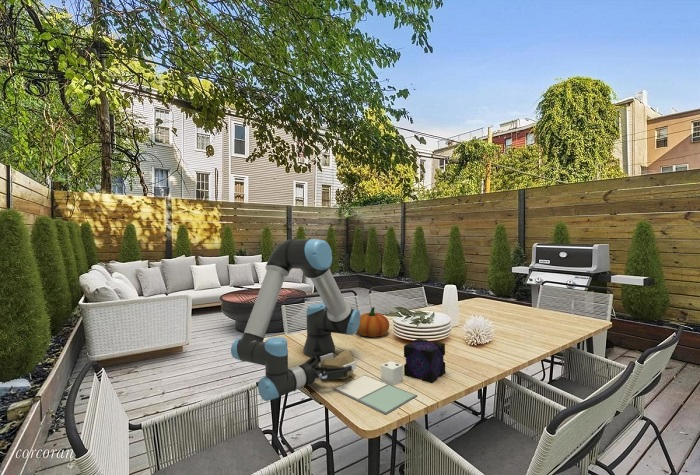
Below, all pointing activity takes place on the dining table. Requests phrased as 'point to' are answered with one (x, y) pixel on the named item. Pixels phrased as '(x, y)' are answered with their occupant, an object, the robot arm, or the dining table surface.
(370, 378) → the game board
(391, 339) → the dining table surface
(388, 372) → the die
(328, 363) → the low-poly potato
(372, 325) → the pumpkin
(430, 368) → the energy cube
